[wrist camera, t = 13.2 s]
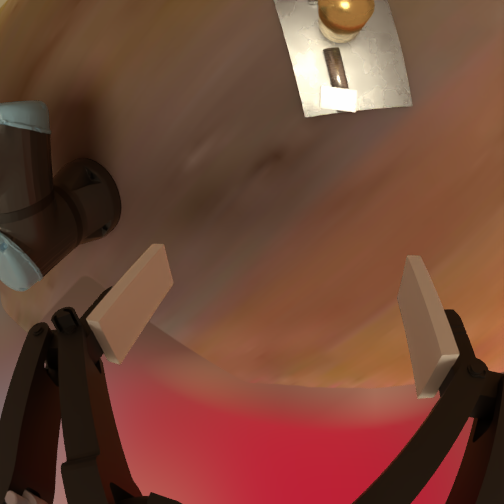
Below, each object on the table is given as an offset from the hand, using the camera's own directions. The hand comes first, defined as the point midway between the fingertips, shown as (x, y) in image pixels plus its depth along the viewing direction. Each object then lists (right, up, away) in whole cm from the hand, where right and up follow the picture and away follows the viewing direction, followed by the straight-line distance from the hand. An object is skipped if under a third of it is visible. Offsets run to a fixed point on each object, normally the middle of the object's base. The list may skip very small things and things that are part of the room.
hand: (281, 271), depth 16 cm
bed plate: (+9, +29, +12) cm, 33 cm away
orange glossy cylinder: (+9, +28, +11) cm, 32 cm away
